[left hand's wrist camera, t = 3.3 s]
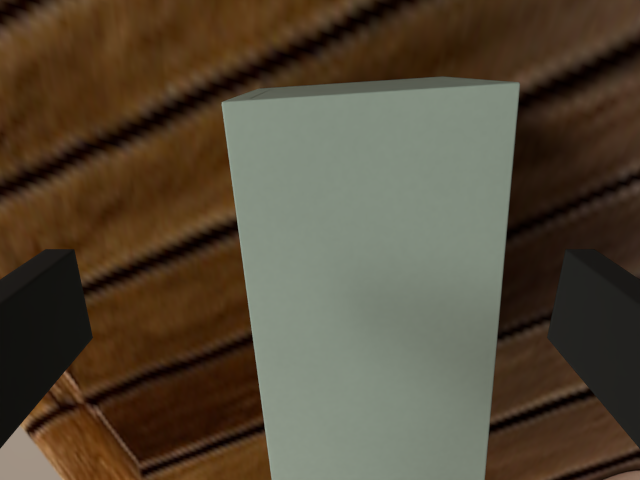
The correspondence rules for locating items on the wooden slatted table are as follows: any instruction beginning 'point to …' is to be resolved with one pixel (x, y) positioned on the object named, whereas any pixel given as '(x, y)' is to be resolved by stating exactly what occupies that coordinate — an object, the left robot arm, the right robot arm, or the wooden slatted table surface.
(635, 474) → the anatomical model
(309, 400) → the cabinet
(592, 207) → the wooden slatted table surface
